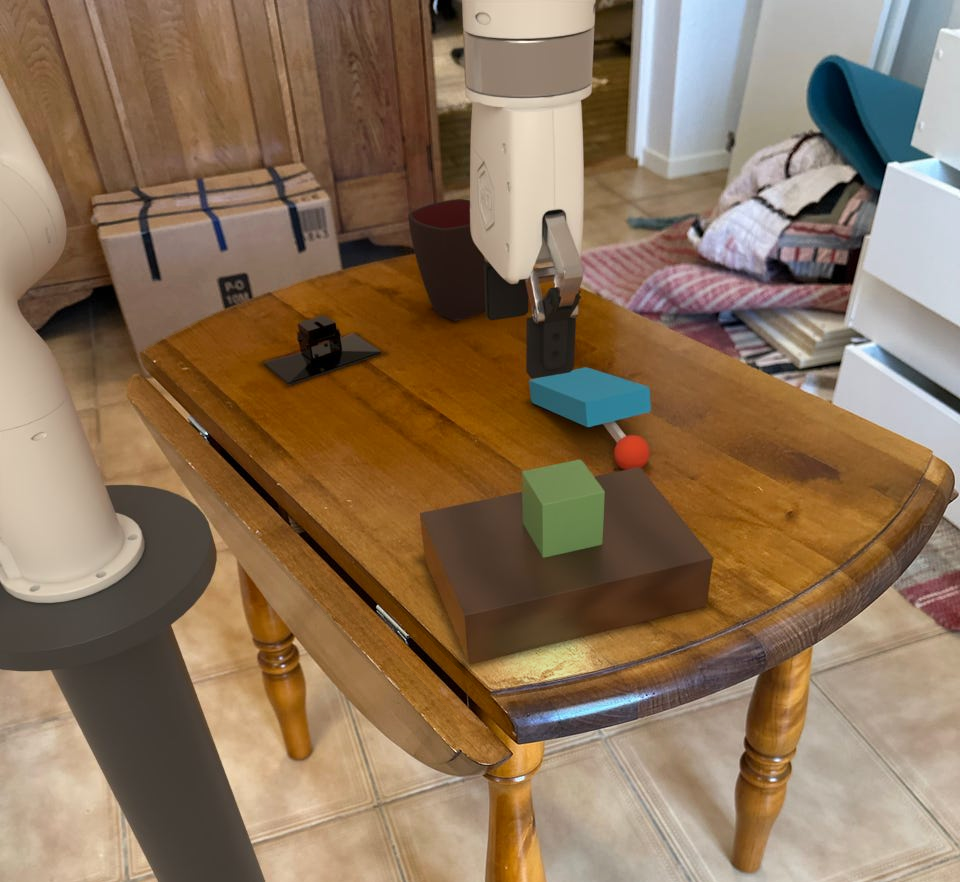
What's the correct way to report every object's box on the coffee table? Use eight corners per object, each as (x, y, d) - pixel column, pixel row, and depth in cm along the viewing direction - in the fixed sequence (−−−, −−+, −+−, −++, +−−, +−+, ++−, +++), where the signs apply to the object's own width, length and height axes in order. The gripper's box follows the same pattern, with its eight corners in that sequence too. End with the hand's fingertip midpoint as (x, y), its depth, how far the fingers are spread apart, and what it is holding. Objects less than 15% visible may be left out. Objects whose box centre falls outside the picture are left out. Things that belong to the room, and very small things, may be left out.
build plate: (289, 386, 107) (281, 348, 104) (263, 364, 112) (254, 327, 109) (381, 354, 112) (376, 316, 109) (352, 334, 117) (347, 298, 113)
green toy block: (542, 558, 72) (542, 504, 69) (522, 523, 76) (521, 471, 73) (602, 545, 73) (605, 491, 70) (579, 511, 77) (581, 458, 73)
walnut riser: (468, 664, 71) (464, 615, 68) (424, 560, 81) (419, 512, 78) (706, 607, 75) (713, 557, 71) (636, 513, 85) (639, 466, 81)
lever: (536, 443, 103) (609, 482, 88) (528, 380, 100) (602, 409, 85) (592, 429, 105) (673, 465, 89) (586, 367, 102) (669, 393, 86)
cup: (406, 309, 121) (396, 213, 113) (491, 281, 127) (487, 187, 119) (449, 333, 115) (441, 233, 107) (536, 302, 121) (535, 205, 113)
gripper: (431, 43, 60) (445, 304, 71) (511, 105, 47) (513, 408, 59) (541, 33, 61) (538, 291, 73) (647, 91, 49) (623, 390, 60)
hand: (527, 343), depth 66 cm, fingers open, 9 cm apart
